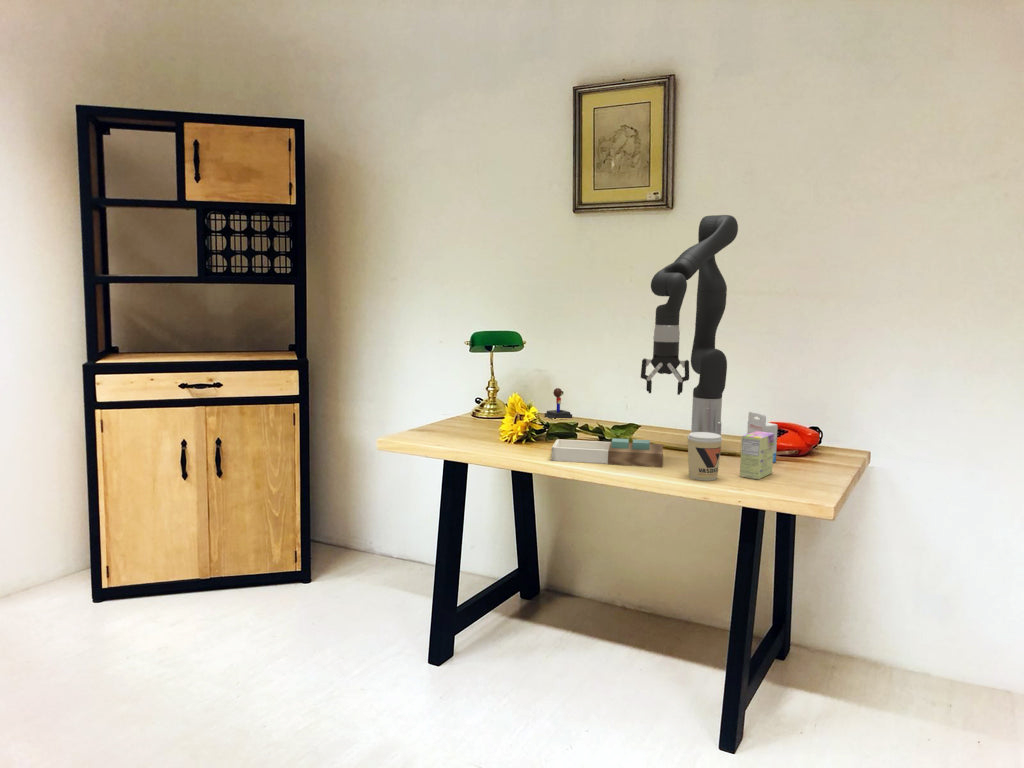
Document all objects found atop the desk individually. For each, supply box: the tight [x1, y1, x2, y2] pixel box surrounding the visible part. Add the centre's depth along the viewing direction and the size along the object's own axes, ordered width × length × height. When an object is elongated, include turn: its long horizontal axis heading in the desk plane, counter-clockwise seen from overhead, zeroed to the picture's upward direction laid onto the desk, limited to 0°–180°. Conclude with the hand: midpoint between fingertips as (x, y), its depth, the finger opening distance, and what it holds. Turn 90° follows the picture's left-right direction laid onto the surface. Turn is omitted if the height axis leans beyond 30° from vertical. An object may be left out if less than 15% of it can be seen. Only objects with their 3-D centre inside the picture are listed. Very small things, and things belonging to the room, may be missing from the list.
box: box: [739, 431, 774, 480], centre depth 216 cm, size 10×6×12 cm, turn 141°
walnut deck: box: [607, 441, 664, 468], centre depth 232 cm, size 16×14×4 cm
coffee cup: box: [687, 432, 723, 481], centre depth 212 cm, size 9×9×12 cm
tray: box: [551, 438, 612, 465], centre depth 235 cm, size 17×13×4 cm
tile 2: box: [632, 439, 651, 450], centre depth 231 cm, size 5×5×2 cm
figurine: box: [544, 387, 573, 419], centre depth 304 cm, size 8×8×12 cm
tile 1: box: [611, 437, 630, 449], centre depth 232 cm, size 5×5×2 cm
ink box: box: [746, 411, 779, 463], centre depth 234 cm, size 8×5×15 cm, turn 21°
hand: (664, 393), depth 230 cm, fingers open, 8 cm apart
